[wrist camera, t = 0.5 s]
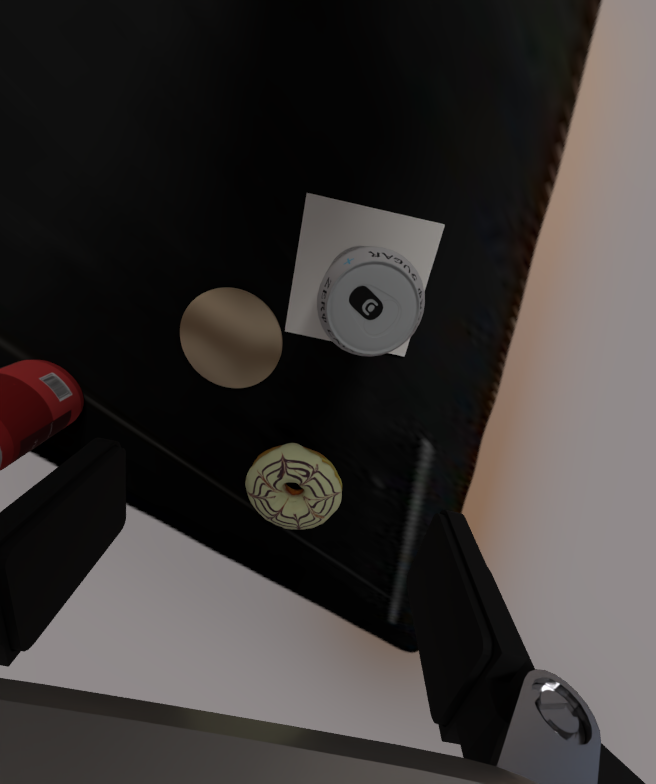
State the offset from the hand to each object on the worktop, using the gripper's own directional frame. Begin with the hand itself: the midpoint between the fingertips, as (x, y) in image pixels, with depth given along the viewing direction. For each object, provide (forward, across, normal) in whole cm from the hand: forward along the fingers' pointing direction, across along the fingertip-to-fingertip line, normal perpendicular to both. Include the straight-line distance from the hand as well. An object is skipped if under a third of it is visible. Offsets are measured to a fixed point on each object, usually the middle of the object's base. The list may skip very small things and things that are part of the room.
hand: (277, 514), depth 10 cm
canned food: (+26, +27, +14) cm, 40 cm away
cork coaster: (+26, +8, +3) cm, 27 cm away
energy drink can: (+25, -2, -5) cm, 26 cm away
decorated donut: (+26, -1, +18) cm, 32 cm away
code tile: (+26, -2, -5) cm, 26 cm away
